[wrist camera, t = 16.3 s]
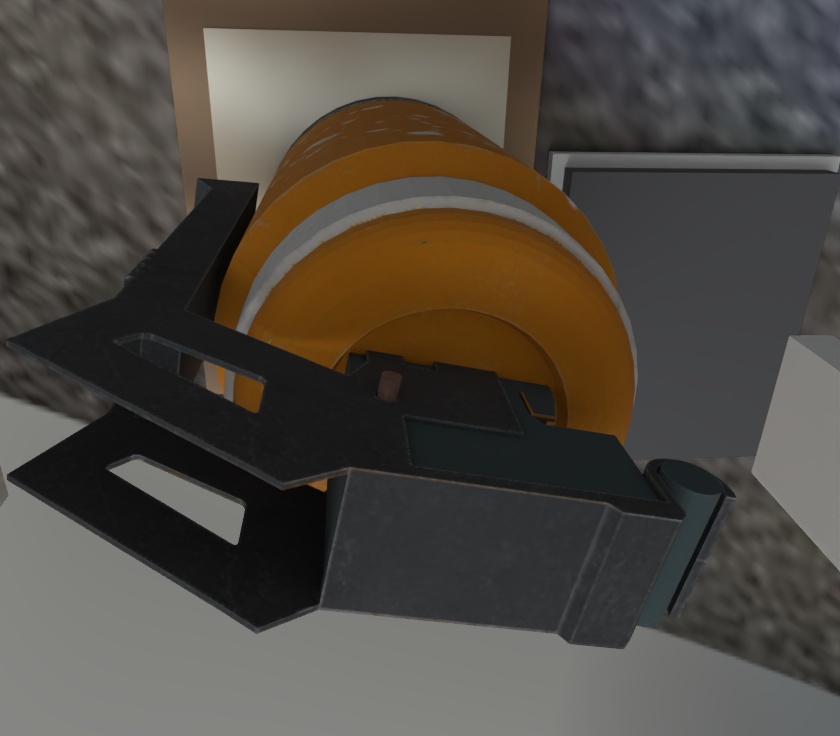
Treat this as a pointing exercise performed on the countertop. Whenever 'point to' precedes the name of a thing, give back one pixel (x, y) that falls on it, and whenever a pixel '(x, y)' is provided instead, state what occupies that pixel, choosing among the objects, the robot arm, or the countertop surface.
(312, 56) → the box board
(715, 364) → the ink pad
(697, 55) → the countertop surface
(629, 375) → the canister
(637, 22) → the countertop surface
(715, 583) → the countertop surface
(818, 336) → the robot arm
